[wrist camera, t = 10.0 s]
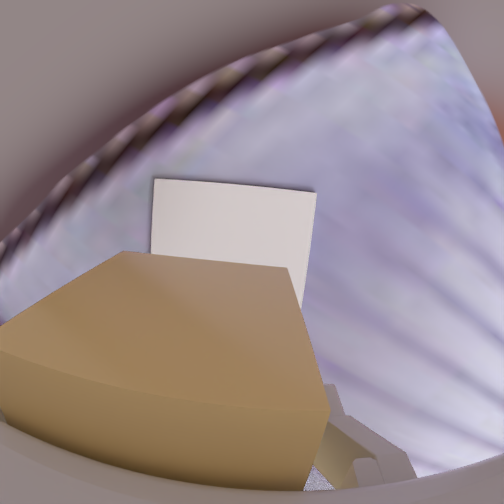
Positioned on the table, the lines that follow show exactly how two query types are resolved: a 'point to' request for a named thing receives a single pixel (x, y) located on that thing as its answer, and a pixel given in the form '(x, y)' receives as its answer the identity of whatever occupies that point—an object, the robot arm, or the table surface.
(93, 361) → the tan cube
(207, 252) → the grey mat
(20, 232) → the table surface
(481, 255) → the table surface
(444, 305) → the table surface
